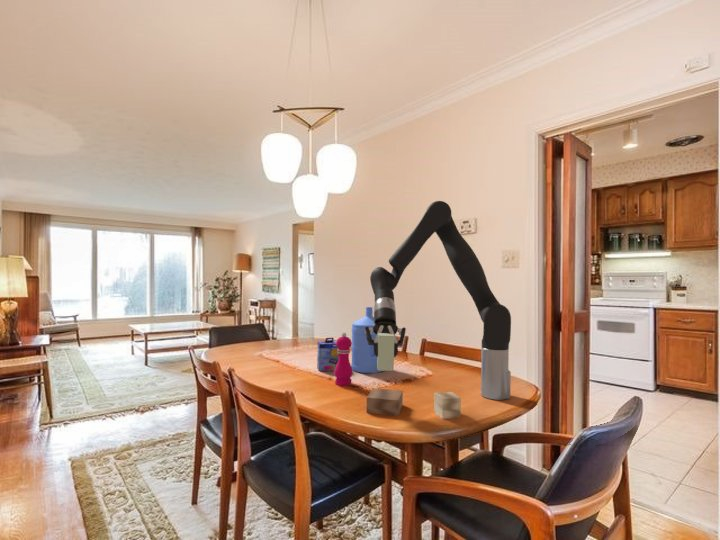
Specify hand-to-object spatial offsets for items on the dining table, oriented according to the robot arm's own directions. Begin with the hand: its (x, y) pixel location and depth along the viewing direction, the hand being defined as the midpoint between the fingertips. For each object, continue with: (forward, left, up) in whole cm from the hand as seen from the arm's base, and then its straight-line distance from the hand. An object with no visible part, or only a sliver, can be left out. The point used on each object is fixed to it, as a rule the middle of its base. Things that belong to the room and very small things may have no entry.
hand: (386, 355), depth 121 cm
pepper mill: (+15, -29, -18) cm, 37 cm away
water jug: (+5, -52, -18) cm, 55 cm away
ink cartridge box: (+23, -51, -18) cm, 59 cm away
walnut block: (0, -2, -18) cm, 18 cm away
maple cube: (-19, +2, -18) cm, 26 cm away
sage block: (0, -2, -5) cm, 5 cm away
